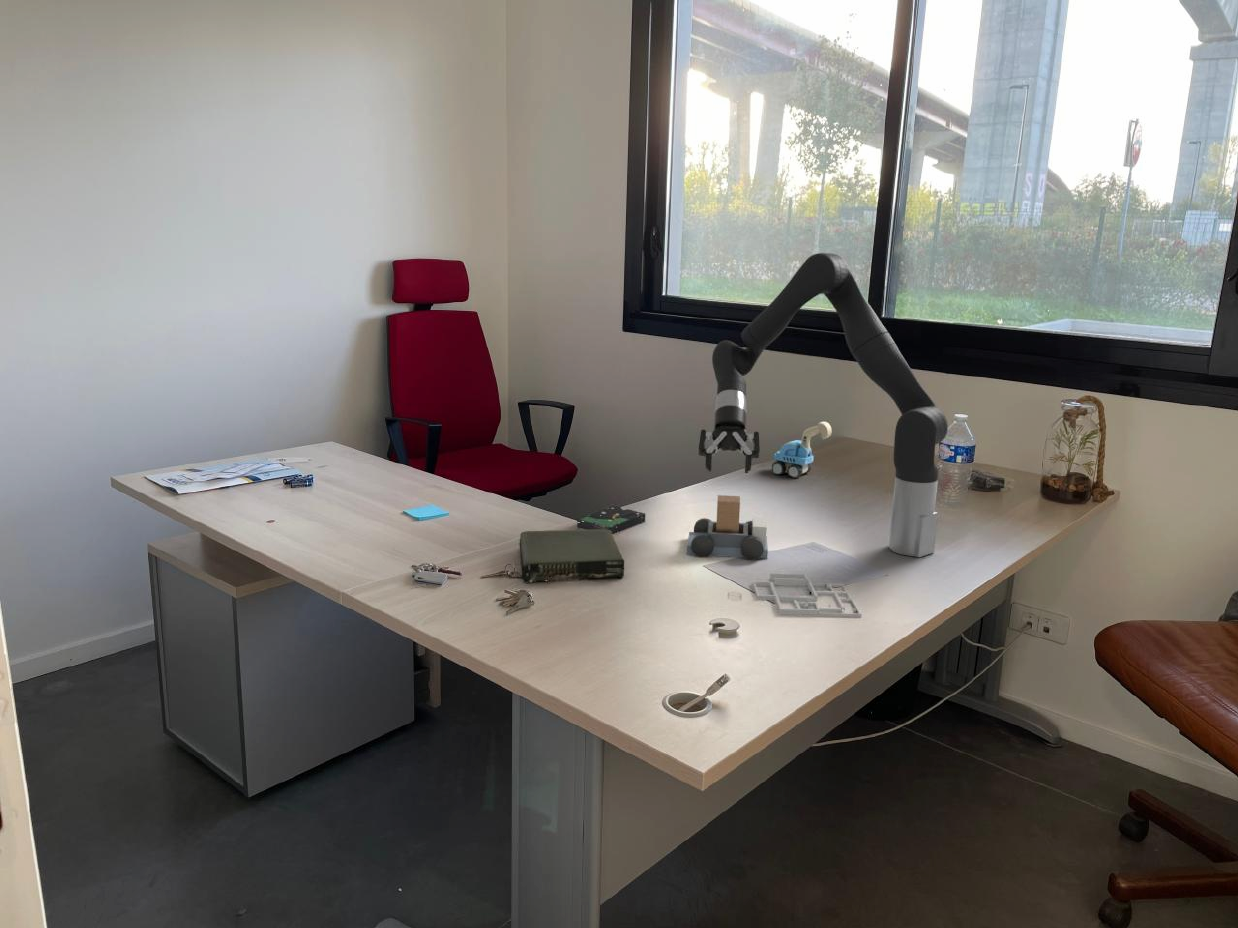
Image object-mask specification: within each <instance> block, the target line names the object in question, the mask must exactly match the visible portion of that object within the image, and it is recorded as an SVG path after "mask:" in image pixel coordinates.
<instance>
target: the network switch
mask: <svg viewBox="0 0 1238 928" xmlns="http://www.w3.org/2000/svg"><path fill="white" fill-rule="evenodd" d="M518 545H519V555H520V556H519V557H520V569H521V577H522V580H523V582H524V581H525V582H530V581H534V582H538V581H545V580H547V581H545V582H548V581H551V580H552V581H561V580H562V581H568V580H570V581H572V579H573V580H577V579H578V580H579V581H582V580H585V579H599V578H609V579H610V578H619V579H620V578H621V579H623V578H624V576H625V560H624V558H623V555H622V554H621V551H620V549H619V547H618V545H617V542H616V539H615V537H614V534H613V535H612V531H610V530H605V529H591V530H585V529H559V530H558V529H557V530H556V529H554V530H550V529H549V530H526V531H522V532H521V533H520V536H519V543H518ZM581 579H582V580H581ZM525 582H524V583H525ZM530 583H531V582H530Z"/></svg>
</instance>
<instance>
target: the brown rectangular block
mask: <svg viewBox="0 0 1238 928" xmlns="http://www.w3.org/2000/svg"><path fill="white" fill-rule="evenodd" d="M716 502H717V503H716V504H717V505H716V522H717V525H716V532H717V533H735V534H738V533H739V523H740V512H741V511H740V509H741V508H740V507H741V497H740V495H726V494H725V495H722V494H718V495H717V501H716Z"/></svg>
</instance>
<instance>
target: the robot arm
mask: <svg viewBox="0 0 1238 928" xmlns="http://www.w3.org/2000/svg"><path fill="white" fill-rule="evenodd" d="M848 264H849V263H847V261H846V260H845V259H844V257H842V256H840V255H838V254H836V253H826V252H818V253H814V254H812V255H810V256H809V257H808V258H807V259H806V260H805V261H804V262H803V263H802V265H800V266H799V268H798V269H797V271H796V272H795V274H794V275H793V277H791V279H790V281H789V282H788V283H787V284H786V285H785V287H784V288H783V289H782V290H781V291H780V292H779V294H778V295H777V296H776V297H775V298H774V299H773V300H772V302H770V304H769V305H768V306H766V307H765V309H764V310H763V311H762V312H760V313H759V314H758V315H757V316H756V317H755V318H754V319H753V320H752V321H751V322H749V323H748V325H747V326H745V328H744V329H743V330H742V332H741V335H740V337H741V340H742V342H743V343H744V345H745V346H746V348H744V347H741V346H740V345H738V344H736V342H735V343H734V342H733V341H731V340H728V339H727V340H722V341H720V342H719V343H717V344H716V346H715V348H714V349H713V351H712V356H711V360H712V361H711V362H712V368H713V373H714V376H715V380H716V382H717V389H716V391H717V392H716V401H715V408H714V426H713V431H711V432H710V431H707V430H706V429H701V431H700V434H699V435H700V437H699V443H698V456H700V457H701V456H704V458H705V469H706V470H707V471H708V472H712V466H713V465H712V463H713V462H712V461H713V456H714V455H716V454H717V453H718V452H719V451H720V450H722V451H724V452H725V451H730V452H731V451H732V452H733V451H734V452H736V451H738V452H739V454H741V455H742V456H744V458H745V459H744V460H745V463H744V473H745V474H748V473H749V472H750V471H751V470H752V460H753V459H759V458H760V452H761V450H760V433H759V432H758V431H754V432H753V433H747V397H746V396H747V382H746V379H745V378H744V376H747V375H748V374H749V373H750V372H751V371H752V370H753V368H754V366H755V364H756V363H757V361H758V360H759V358H760V357H761V355H762V353H763V352H764V350H765V349H766V348H767V347H768V346H769V345H770V344H771V343H773V342H774V341H775V340H776V339H777V338H778V337H779V336H780V335H781V334H782V333H783V332H784V331H785V329H786V328H787V327H788V325H789V324H790V323H791V321H792V319H793V317H794V316H795V315H796V314H797V312H798V311H799V310H800V309H801V308H802V307H803V306H804V305H806V304H807V303H808V302H810V301H811V300H813V299H814V298H815V297H817V296H819V295H820V294H822V295H824V296H825V297H826V298H827V300H828V301H829V302H830V303H831V305H832V306H833V308H834V309H835V312H836V313H837V315H838V316H839V319H840V322H841V325H842V329H843V333H844V337H845V340H846V341H845V342H846V345H847V346H848V349H849V351H850V352H851V355H852V356H853V358H854V359H855V361H856V363H857V364H858V365H859V367H860V370H862V371H863V372H864V374H865V375H866V376H867V377H868V378H869V379H870V380H871V381H872V382H874V383H875V384H876V385H877V386H878V387H879V388H880V389H881V390H882V391H884V393H886V394H887V395H888V396H889V397H890V398H891V400H892V401H893V402H894V404H895V405H896V407H897V408H898V410H899V412H900V414H901V416H900V417H899V418H898V420H897V421H896V426H895V428H894V429H895V430H894V441H893V465H894V467H895V468H894V469H895V475H894V476H895V477H894V486H893V487H894V488H893V496H892V498H893V499H892V506H891V519H890V531H889V541H888V549H889V550H890V551H892V553H896V554H899V555H903V556H908V557H909V556H910V557H916V558H921V557H923V556H927V555H930V554H933V553H935V548H936V541H937V540H936V539H937V529H938V522H939V521H938V519H939V513H938V512H937V511H936V501H937V490H938V482H939V481H938V480H939V473H940V471H939V467H938V465H936V463H935V455H936V454H935V453H936V451H935V450H936V445H938V444H940V443H941V442H942V441H944V439H945V438H946V436H947V434H948V431H949V426H948V421H947V418H946V416H945V414H944V413H943V411H942V410H941V409H940V408H939V406H938V405H937V404H936V402H935V401H934V400H933V399H932V397H931V396H930V395H929V394H928V392H927V391H926V389H924V387H923V386H922V385H921V383H920V382H919V380H918V378H917V377H916V375H915V374H914V371H913V370H912V368H911V367H910V366H909V364H908V362H907V360H906V359H905V357H904V356H903V354H902V353H901V351H900V349H899V347H898V346H897V344H896V343H895V341H894V339H893V338H892V336H891V334H890V333H889V331H888V330H887V328H886V327H885V326H884V325H883V323H882V321H881V320H880V318H879V316H878V315H877V313H876V312H875V311H874V309H873V308H872V306H871V305H870V303H869V302H868V301H867V299H866V298H865V296H864V294H863V292H862V291H861V288H860V286H859V284H858V282H857V280H856V278H855V276H854V274H853V272H852V269H851V268H850V266H849V265H848ZM710 439H712V440H713V442H712V443H711V445H710V446H709V447H708V448H706V442H708V441H709V440H710ZM747 440H749V442H750V443H751V444H753V450H751V449H750V448H749V446H748V445H747V443H746V442H747Z"/></svg>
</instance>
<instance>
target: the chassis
mask: <svg viewBox="0 0 1238 928" xmlns="http://www.w3.org/2000/svg"><path fill="white" fill-rule="evenodd" d="M766 518H767V517H766V516H762V515H761V516H759V515H758V516H757V515H752V519H751V520H749V521H746V522H739V533H738V534H735V533H717V532H716V525H717V521H713V520H711V519H709V518H705V517H704V518H700V519H698V520H697V521H696V522H695V524H694V526H693V531H689V533H688V539H687V544H686V555H695V556H696V557H699V558H706V557H709V556H714V557H715V556H716V557H718V556H719V557H731V558H734V557H735V558H745V559H746V560H749V561H757V560H758V559H765V560H766V559H768V552H769V549H768V536H767V519H766Z"/></svg>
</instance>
